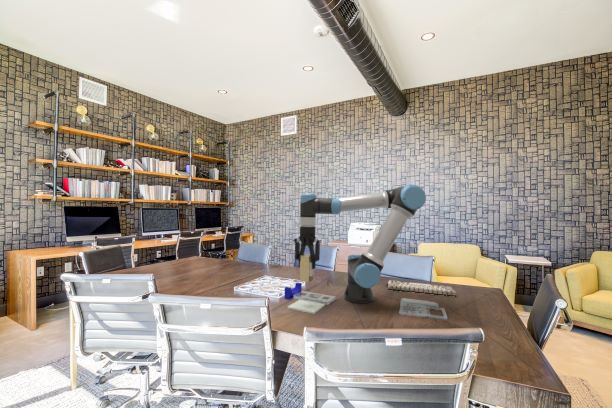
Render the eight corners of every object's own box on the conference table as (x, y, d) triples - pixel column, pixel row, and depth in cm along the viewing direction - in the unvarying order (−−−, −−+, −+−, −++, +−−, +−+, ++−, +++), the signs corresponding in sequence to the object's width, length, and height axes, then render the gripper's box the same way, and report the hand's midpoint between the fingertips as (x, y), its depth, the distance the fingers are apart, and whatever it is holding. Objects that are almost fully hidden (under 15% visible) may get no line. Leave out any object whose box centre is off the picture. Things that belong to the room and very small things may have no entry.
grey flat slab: (400, 295, 149) (442, 300, 142) (400, 300, 149) (442, 305, 142) (398, 309, 128) (448, 316, 121) (398, 315, 127) (448, 322, 120)
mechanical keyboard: (451, 289, 171) (451, 284, 171) (458, 299, 153) (458, 293, 153) (386, 284, 182) (386, 279, 182) (386, 292, 163) (386, 287, 163)
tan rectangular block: (312, 280, 136) (313, 255, 136) (308, 282, 132) (309, 256, 132) (304, 278, 138) (305, 254, 138) (300, 280, 134) (300, 255, 134)
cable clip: (294, 292, 158) (294, 281, 158) (301, 294, 156) (301, 283, 156) (282, 298, 148) (282, 286, 148) (289, 300, 146) (289, 288, 146)
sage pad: (324, 305, 137) (324, 304, 137) (314, 314, 126) (314, 312, 126) (299, 301, 144) (299, 299, 144) (287, 308, 133) (287, 306, 133)
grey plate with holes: (335, 299, 147) (335, 296, 147) (328, 305, 138) (328, 301, 138) (301, 293, 156) (301, 290, 156) (292, 298, 148) (292, 295, 148)
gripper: (327, 226, 135) (326, 275, 135) (295, 224, 143) (294, 271, 143) (321, 227, 128) (320, 279, 128) (287, 225, 136) (286, 274, 136)
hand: (306, 274), depth 135 cm, fingers closed on tan rectangular block, 4 cm apart
